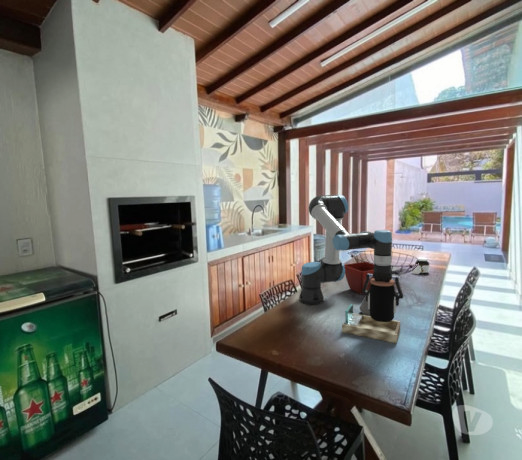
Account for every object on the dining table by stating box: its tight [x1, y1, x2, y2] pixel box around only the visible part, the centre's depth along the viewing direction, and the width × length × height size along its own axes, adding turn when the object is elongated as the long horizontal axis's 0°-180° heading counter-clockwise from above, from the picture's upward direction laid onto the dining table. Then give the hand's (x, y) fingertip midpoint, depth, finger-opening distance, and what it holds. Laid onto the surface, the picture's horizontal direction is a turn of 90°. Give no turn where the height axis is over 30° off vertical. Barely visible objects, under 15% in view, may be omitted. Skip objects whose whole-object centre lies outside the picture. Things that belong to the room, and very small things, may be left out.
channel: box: [341, 312, 401, 344], centre depth 144 cm, size 24×15×4 cm, turn 60°
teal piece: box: [343, 303, 362, 327], centre depth 148 cm, size 6×13×9 cm, turn 150°
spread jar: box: [411, 257, 430, 275], centre depth 234 cm, size 12×11×12 cm
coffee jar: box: [370, 278, 396, 322], centre depth 140 cm, size 11×11×18 cm
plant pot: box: [344, 261, 375, 296], centre depth 199 cm, size 19×19×17 cm
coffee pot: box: [359, 290, 399, 316], centre depth 159 cm, size 21×12×15 cm, turn 55°
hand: (381, 310), depth 140 cm, fingers closed on coffee jar, 10 cm apart
